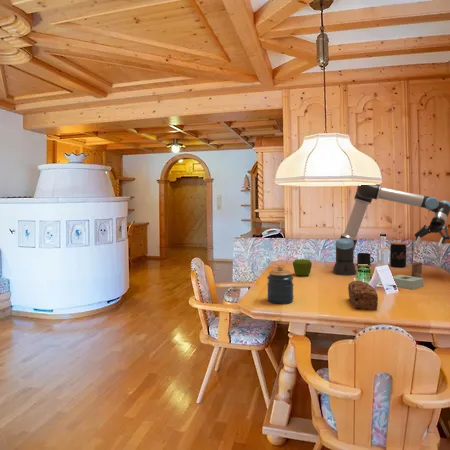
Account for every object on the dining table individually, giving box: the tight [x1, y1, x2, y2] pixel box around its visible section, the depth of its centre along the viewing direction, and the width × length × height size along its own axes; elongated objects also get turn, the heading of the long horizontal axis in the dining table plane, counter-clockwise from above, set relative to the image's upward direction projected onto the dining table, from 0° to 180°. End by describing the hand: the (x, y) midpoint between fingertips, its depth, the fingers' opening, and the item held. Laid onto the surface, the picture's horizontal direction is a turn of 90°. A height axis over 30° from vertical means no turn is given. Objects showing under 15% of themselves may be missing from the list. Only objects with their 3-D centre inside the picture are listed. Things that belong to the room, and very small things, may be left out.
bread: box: [347, 280, 379, 311], centre depth 170 cm, size 19×11×10 cm, turn 169°
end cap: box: [393, 274, 425, 290], centre depth 207 cm, size 14×13×4 cm
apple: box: [292, 258, 313, 277], centre depth 240 cm, size 12×12×11 cm
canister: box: [266, 265, 294, 305], centre depth 178 cm, size 13×13×18 cm
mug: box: [356, 252, 375, 266], centre depth 273 cm, size 9×12×9 cm
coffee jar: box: [389, 241, 407, 269], centre depth 267 cm, size 11×11×18 cm
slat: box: [411, 261, 423, 278], centre depth 214 cm, size 3×6×12 cm, turn 126°
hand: (427, 246), depth 220 cm, fingers open, 13 cm apart
